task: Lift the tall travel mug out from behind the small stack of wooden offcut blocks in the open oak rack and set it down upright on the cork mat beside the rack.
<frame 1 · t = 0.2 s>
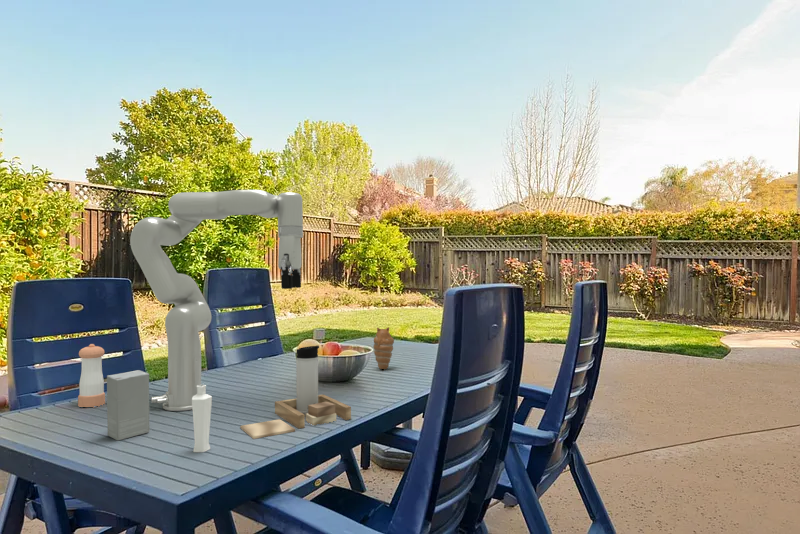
hand: (291, 288, 161), 37 cm above the table, tool pointing down, fingers open, 9 cm apart
cork mat: (267, 429, 137), on the table
offcut upper: (321, 413, 145), point 2 cm above the table, touching offcut lower
skincare box: (128, 435, 133), on the table
perfume bottle: (201, 450, 122), on the table
travel mug: (307, 414, 152), resting in rack
cat ice cream: (383, 370, 219), on the table
rack: (312, 416, 149), on the table
pepper shaker: (91, 405, 163), on the table
offcut lower: (321, 422, 145), on the table, touching offcut upper
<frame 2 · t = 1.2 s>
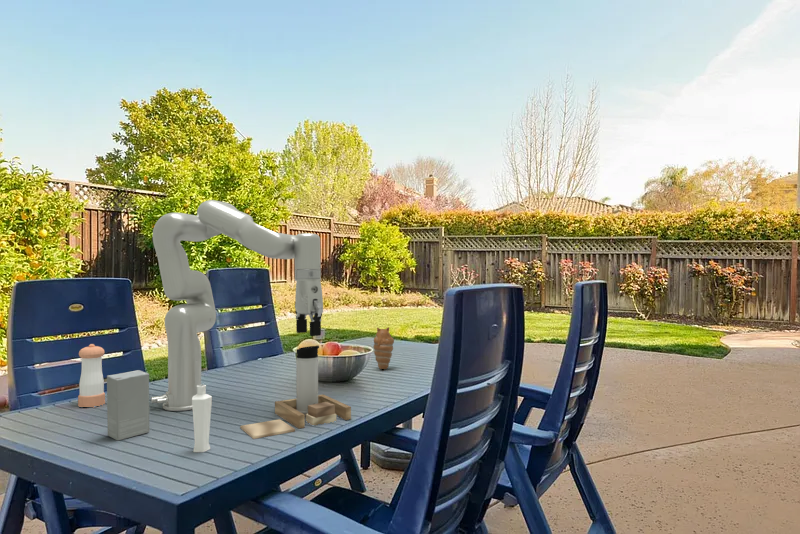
hand: (308, 334, 152), 23 cm above the table, tool pointing down, fingers open, 9 cm apart
nothing on the table moved.
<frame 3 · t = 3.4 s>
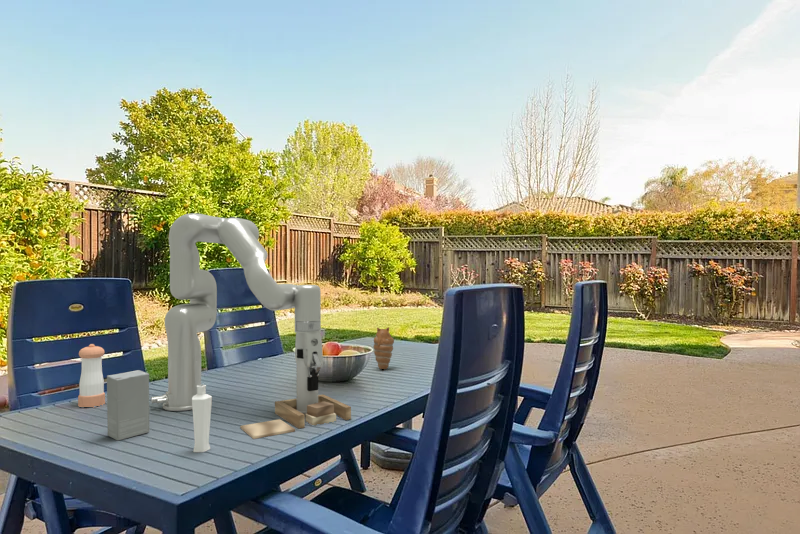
hand: (307, 387, 152), 8 cm above the table, tool pointing down, fingers closed on travel mug, 6 cm apart
travel mug: (307, 414, 152), resting in rack, touching gripper
everything else where it was.
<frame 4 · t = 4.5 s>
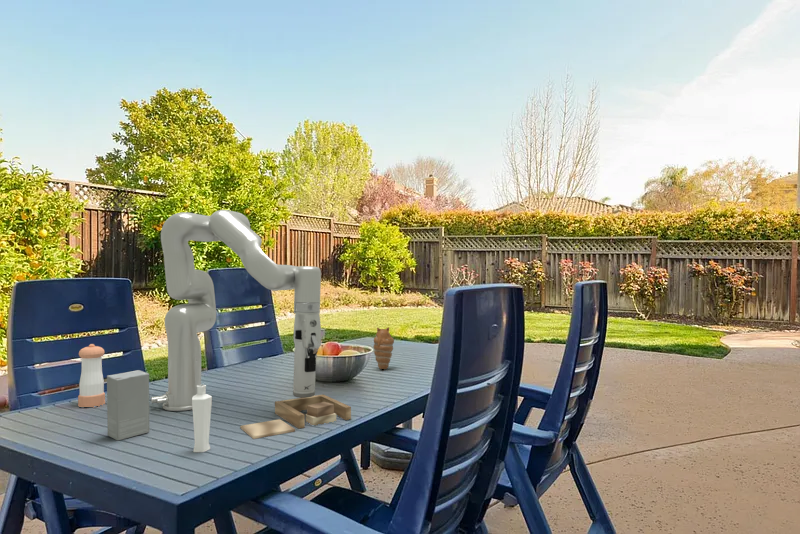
hand: (305, 368, 152), 13 cm above the table, tool pointing down, fingers closed on travel mug, 6 cm apart
travel mug: (304, 395, 152), point 5 cm above the table, touching gripper
everything else where it was.
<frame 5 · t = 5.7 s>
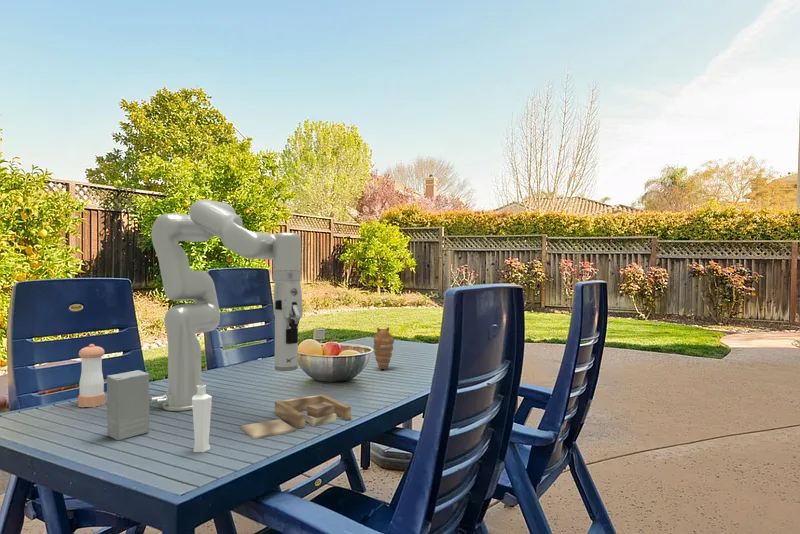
hand: (286, 341, 144), 22 cm above the table, tool pointing down, fingers closed on travel mug, 6 cm apart
travel mug: (286, 369, 144), point 14 cm above the table, touching gripper
everything else where it was.
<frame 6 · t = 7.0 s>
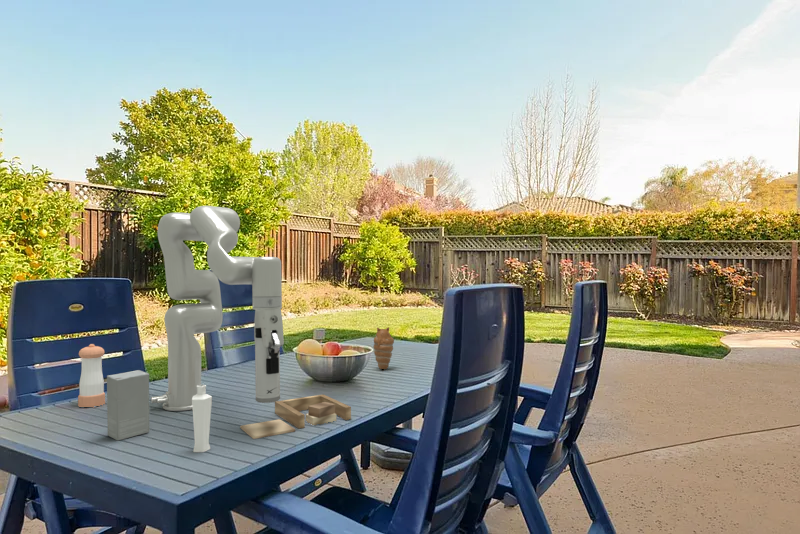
hand: (267, 370, 137), 16 cm above the table, tool pointing down, fingers closed on travel mug, 6 cm apart
travel mug: (268, 400, 137), point 8 cm above the table, touching gripper
everything else where it was.
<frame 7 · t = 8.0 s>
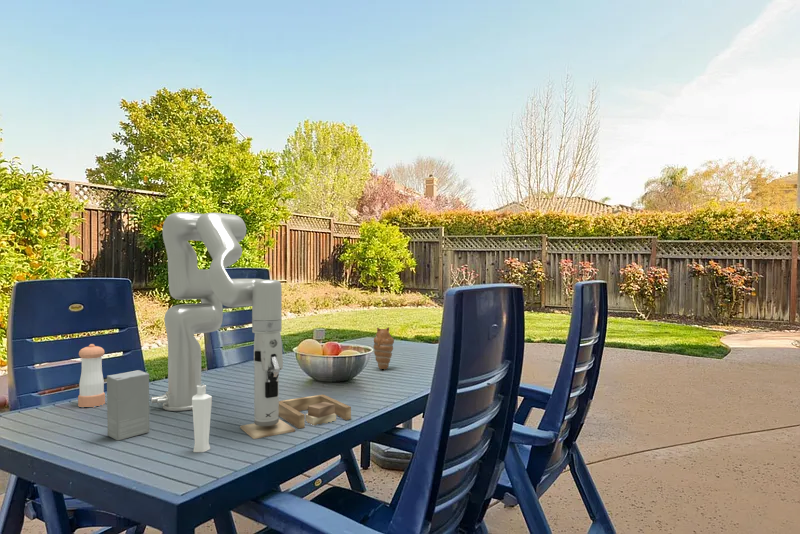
hand: (266, 393, 137), 9 cm above the table, tool pointing down, fingers closed on travel mug, 6 cm apart
travel mug: (267, 423, 137), point 2 cm above the table, touching gripper
everything else where it was.
when the fingers open (9 cm above the table, at t = 8.5 s): travel mug drops 1 cm, resting on cork mat.
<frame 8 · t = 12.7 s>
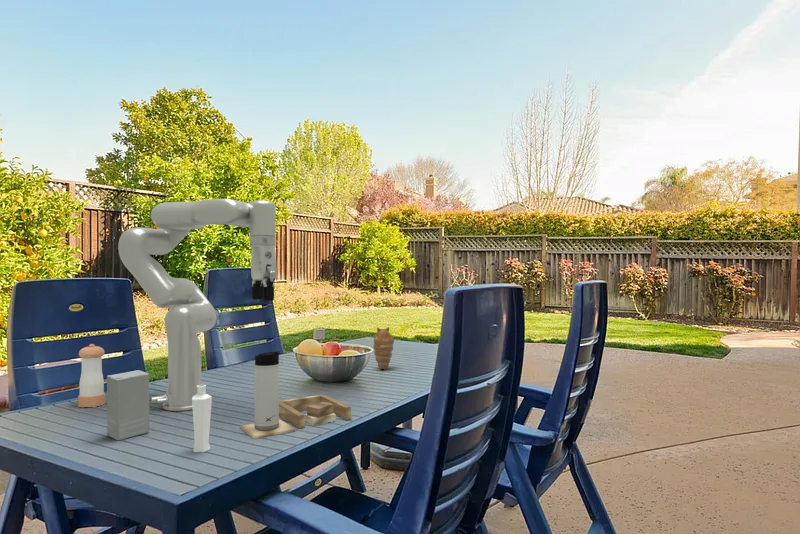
hand: (262, 299, 155), 33 cm above the table, tool pointing down, fingers open, 9 cm apart
travel mug: (267, 428, 137), resting on cork mat
everything else where it was.
at the end: travel mug inside the target area on the cork mat (0.0 cm from its centre), point 0.4 cm above the cork mat's base; travel mug tilted 0°; the gripper is holding nothing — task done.
